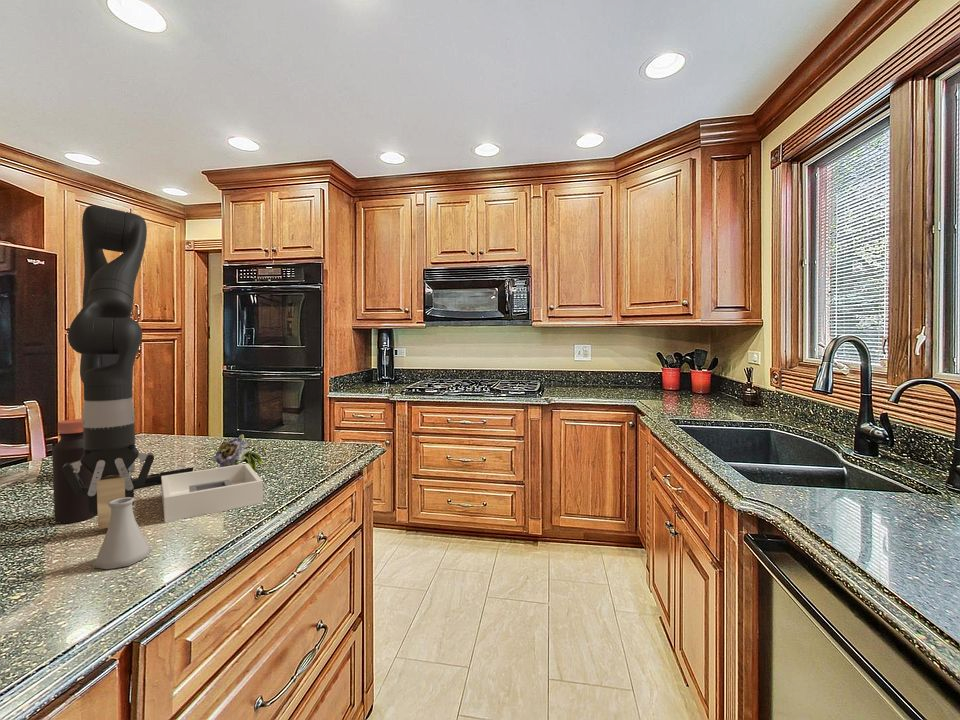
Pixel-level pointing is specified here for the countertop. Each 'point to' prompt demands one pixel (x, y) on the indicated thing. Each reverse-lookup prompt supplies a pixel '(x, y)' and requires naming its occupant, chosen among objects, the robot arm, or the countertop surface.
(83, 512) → the bottle
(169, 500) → the box
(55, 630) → the countertop surface
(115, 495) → the plug
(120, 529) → the flask
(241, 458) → the passion flower
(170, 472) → the electric trimmer
